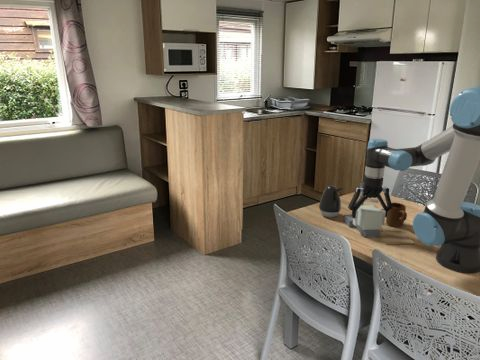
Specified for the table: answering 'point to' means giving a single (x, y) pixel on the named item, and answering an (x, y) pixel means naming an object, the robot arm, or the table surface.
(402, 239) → the mat
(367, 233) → the housing
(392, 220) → the mug
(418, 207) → the table surface
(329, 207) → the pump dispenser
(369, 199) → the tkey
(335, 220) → the table surface
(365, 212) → the light grey cube
